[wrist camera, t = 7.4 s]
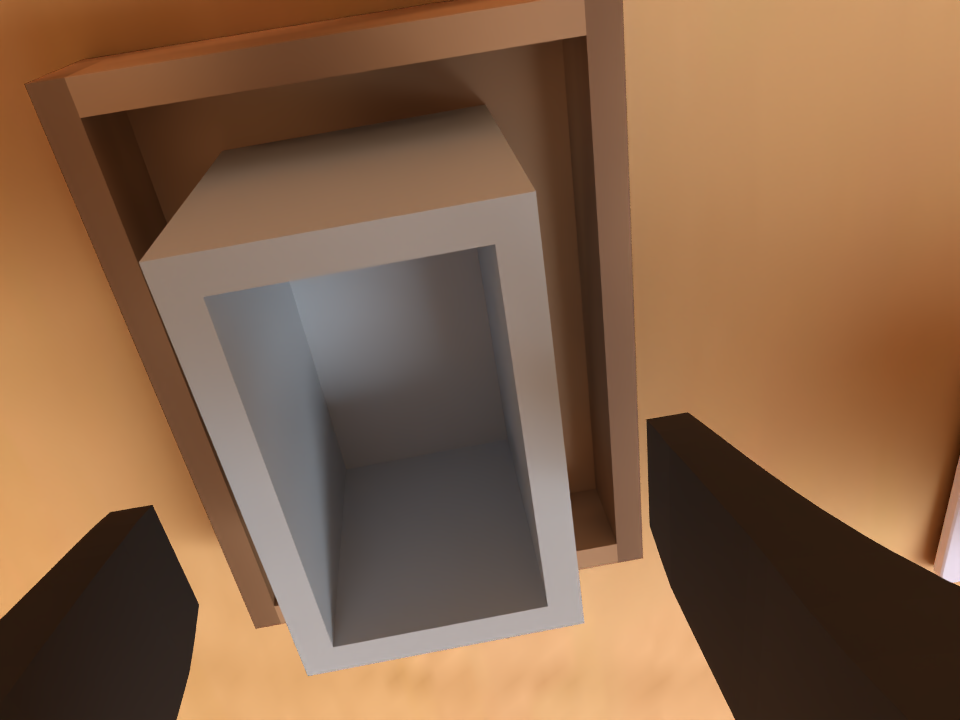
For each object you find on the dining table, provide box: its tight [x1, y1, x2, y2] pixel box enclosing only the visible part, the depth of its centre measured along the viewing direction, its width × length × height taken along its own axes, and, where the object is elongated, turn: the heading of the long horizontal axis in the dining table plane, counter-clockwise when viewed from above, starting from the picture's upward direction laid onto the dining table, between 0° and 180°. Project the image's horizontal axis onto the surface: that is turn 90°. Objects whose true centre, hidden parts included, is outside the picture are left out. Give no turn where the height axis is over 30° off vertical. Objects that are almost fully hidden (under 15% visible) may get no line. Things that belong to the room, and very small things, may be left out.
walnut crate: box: [25, 0, 643, 629], centre depth 16 cm, size 9×12×2 cm
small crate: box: [139, 105, 584, 676], centre depth 14 cm, size 5×8×6 cm, turn 8°
